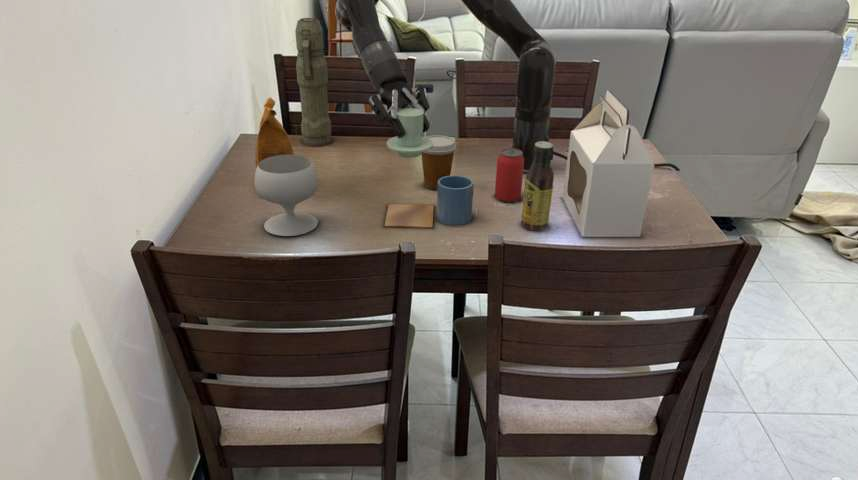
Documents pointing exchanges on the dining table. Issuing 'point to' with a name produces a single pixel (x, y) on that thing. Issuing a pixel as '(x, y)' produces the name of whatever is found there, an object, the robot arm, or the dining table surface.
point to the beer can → (509, 175)
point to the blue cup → (454, 200)
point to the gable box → (607, 173)
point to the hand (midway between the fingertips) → (414, 133)
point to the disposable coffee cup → (438, 160)
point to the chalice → (287, 192)
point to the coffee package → (271, 136)
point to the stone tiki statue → (312, 82)
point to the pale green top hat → (410, 134)
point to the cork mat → (409, 216)
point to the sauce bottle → (538, 188)
